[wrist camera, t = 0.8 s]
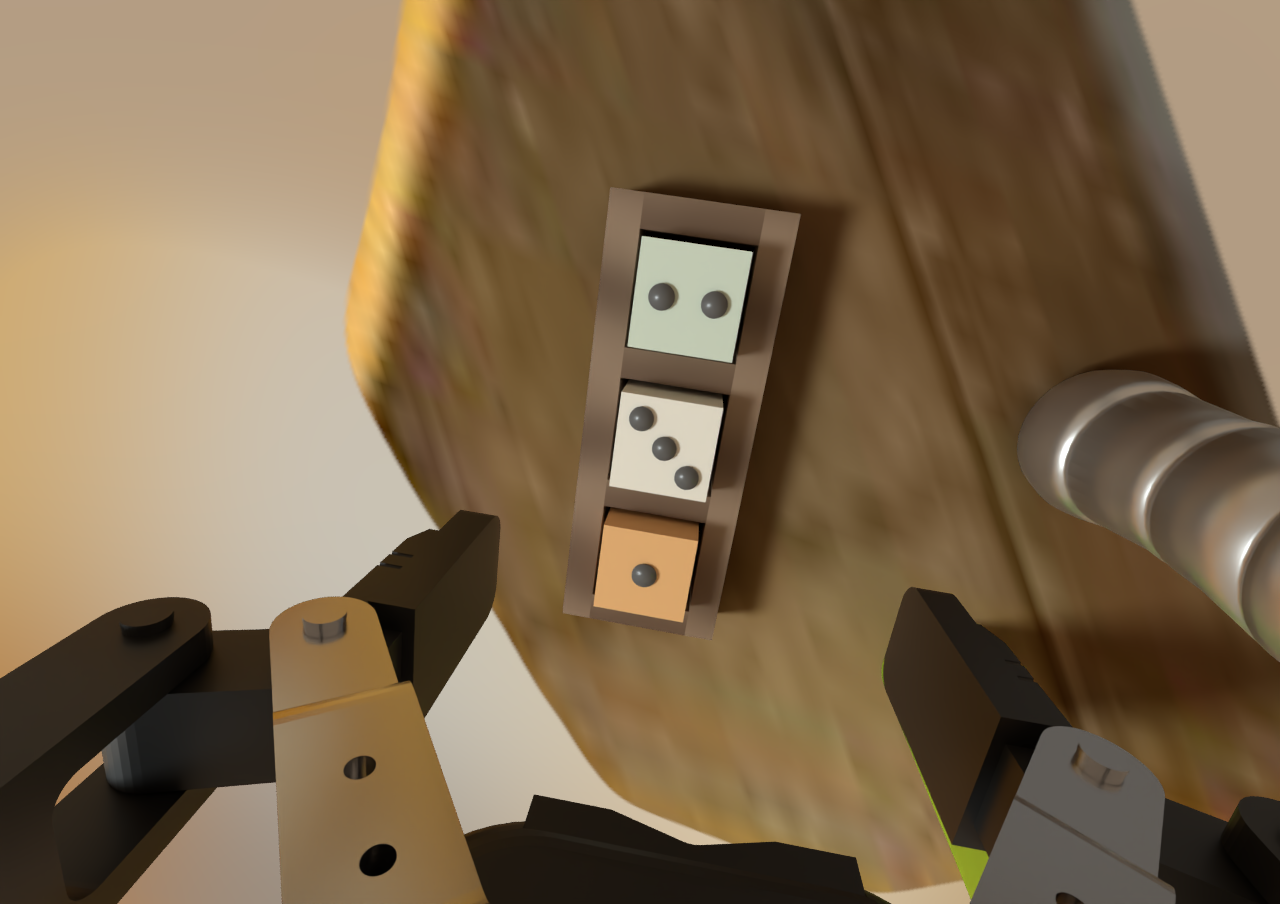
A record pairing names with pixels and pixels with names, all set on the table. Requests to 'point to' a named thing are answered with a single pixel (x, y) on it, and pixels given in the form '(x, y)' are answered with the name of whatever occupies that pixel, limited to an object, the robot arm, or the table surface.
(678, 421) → the three dot button
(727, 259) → the two dot button
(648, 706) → the table surface
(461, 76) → the table surface
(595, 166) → the table surface
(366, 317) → the table surface
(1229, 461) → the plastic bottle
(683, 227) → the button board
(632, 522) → the one dot button
